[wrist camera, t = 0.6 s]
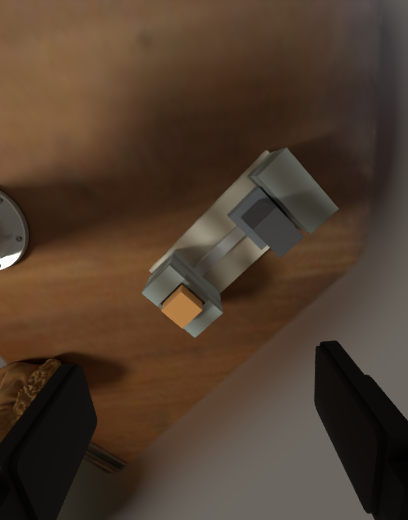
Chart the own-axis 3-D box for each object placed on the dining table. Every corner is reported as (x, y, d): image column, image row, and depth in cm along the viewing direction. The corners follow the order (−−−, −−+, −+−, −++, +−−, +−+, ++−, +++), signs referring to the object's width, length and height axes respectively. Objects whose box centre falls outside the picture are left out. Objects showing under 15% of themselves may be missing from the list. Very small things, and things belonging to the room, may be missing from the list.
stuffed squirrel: (-7, 370, 46) (-86, 444, 33) (60, 338, 44) (4, 403, 31) (29, 411, 49) (-30, 493, 36) (94, 381, 47) (55, 457, 34)
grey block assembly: (198, 308, 43) (197, 340, 34) (150, 267, 40) (138, 290, 32) (311, 204, 38) (341, 212, 30) (264, 151, 36) (283, 143, 27)
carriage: (255, 243, 38) (278, 271, 26) (226, 213, 36) (237, 230, 25) (282, 218, 37) (318, 236, 25) (253, 186, 35) (277, 191, 24)
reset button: (183, 319, 34) (182, 328, 32) (163, 302, 33) (161, 310, 31) (202, 301, 33) (202, 310, 31) (182, 284, 32) (181, 291, 30)
